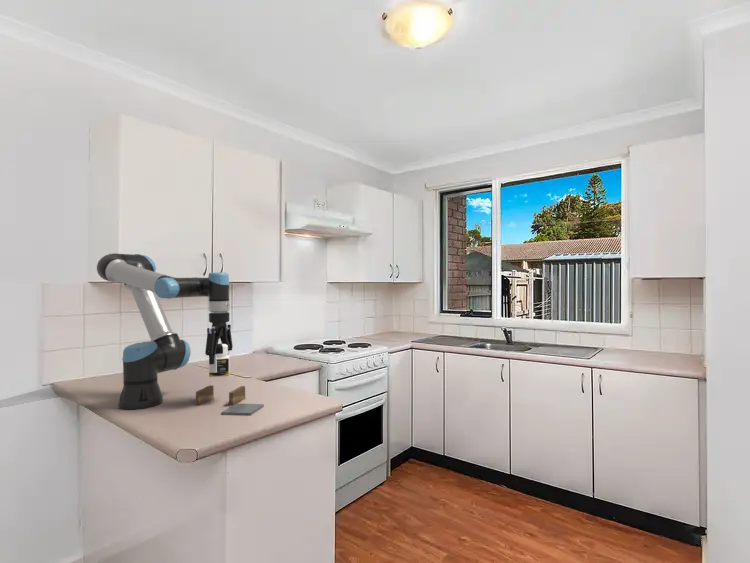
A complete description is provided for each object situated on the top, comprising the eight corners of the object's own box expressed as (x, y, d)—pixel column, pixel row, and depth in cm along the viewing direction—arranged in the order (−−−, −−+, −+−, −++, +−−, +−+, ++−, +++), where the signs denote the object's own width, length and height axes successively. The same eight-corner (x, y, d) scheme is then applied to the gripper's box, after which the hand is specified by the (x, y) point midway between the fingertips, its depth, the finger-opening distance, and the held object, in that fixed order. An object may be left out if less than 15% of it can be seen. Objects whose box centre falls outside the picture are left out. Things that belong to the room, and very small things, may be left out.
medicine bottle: (209, 377, 166) (208, 346, 166) (211, 373, 173) (210, 343, 173) (228, 376, 168) (228, 345, 168) (230, 372, 175) (229, 342, 175)
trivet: (221, 414, 154) (221, 412, 154) (236, 405, 165) (236, 403, 165) (250, 415, 152) (250, 413, 152) (263, 406, 163) (263, 404, 163)
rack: (196, 404, 167) (195, 391, 167) (210, 397, 177) (209, 385, 177) (233, 405, 164) (232, 392, 164) (245, 398, 174) (245, 386, 174)
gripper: (213, 314, 159) (213, 376, 159) (241, 310, 181) (241, 364, 181) (194, 314, 160) (194, 375, 161) (224, 309, 182) (224, 363, 182)
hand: (219, 369), depth 171 cm, fingers closed on medicine bottle, 9 cm apart
